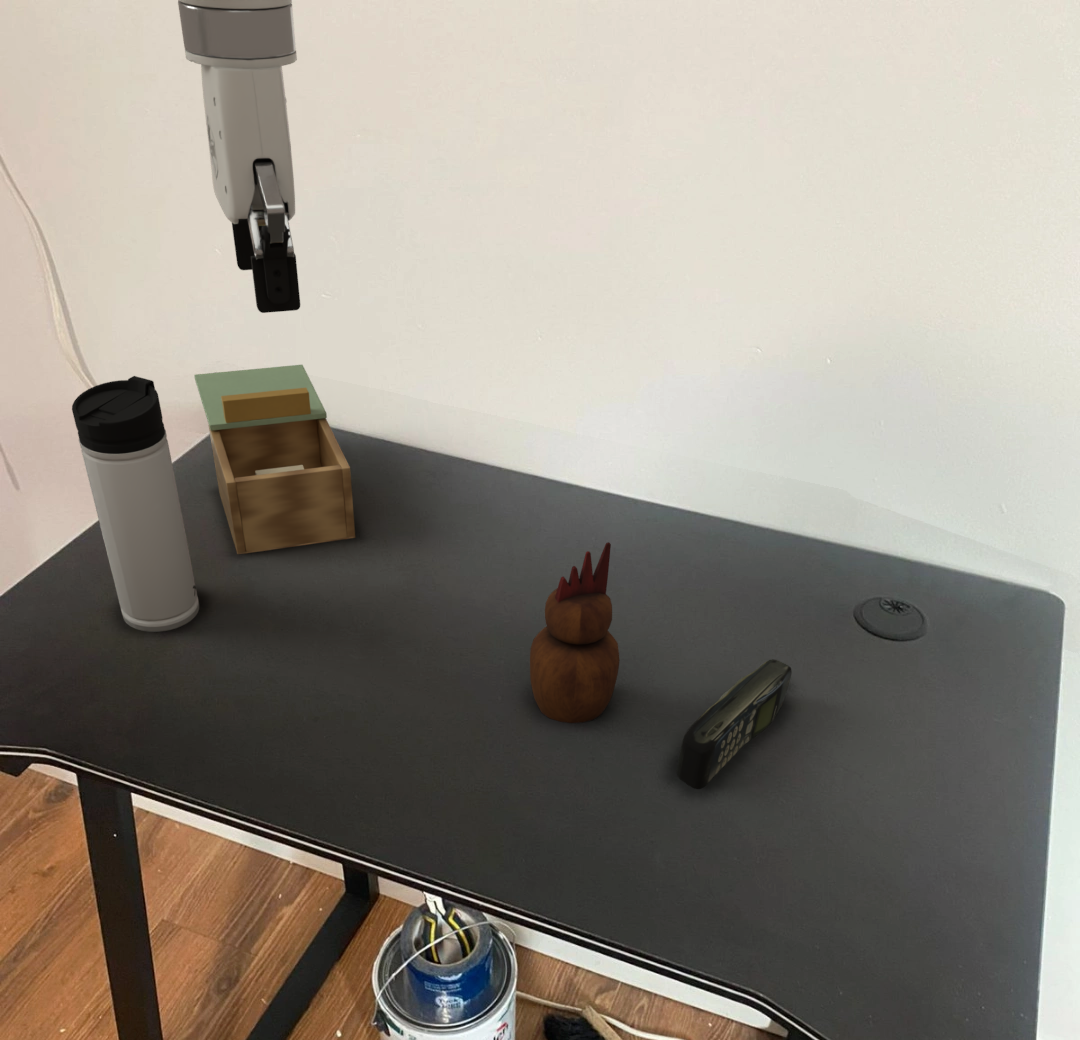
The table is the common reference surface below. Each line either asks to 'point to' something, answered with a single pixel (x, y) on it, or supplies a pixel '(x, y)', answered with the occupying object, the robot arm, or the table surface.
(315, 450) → the oak box
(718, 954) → the table surface
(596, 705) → the wooden figurine
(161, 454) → the travel mug
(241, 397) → the slide door
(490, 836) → the table surface
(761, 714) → the mobile phone
